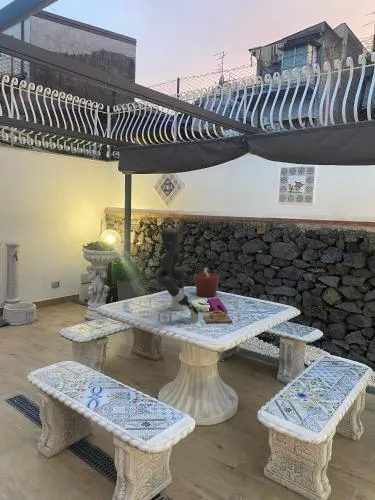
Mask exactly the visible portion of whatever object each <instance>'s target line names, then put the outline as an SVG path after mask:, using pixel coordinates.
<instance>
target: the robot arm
mask: <svg viewBox="0 0 375 500" xmlns="http://www.w3.org/2000/svg"><path fill="white" fill-rule="evenodd" d="M179 232H180V231H179V229H177V228H169V227H165V228H163V229H162V230H161V239H162V243H163V246H164V249H165V254H164V256H163V257H162V260H161V265H160V266H161V267H160V271H159V273H158V276H157V280H156V281H157V285H158V286H159V287H160V288H161V287H162V288H166V289H167V292H168V294H169V295H171V296H170V297H171V310H172V311H176V312H177V311H179V312H180V311H184V307H185V308H187V309H188V310H189V311H190V312H191V310H192V311H194V312H195V313H196V314H198V315H199V310H198V311H197V310H196V308H195V307H194V306H193V304H192V302H190V301H189V296H188V295H187V294H185V292H184V291H185V268H184V266H176V265H177V264H178V262H179V261H180V257H181V256H180V255H181V254H180V251H179V249H178V247H177V246H178V242H179V237H180V236H179V235H180V233H179ZM169 275H170V276H169ZM173 279H177V280H178V281H174V280H173Z"/></svg>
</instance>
